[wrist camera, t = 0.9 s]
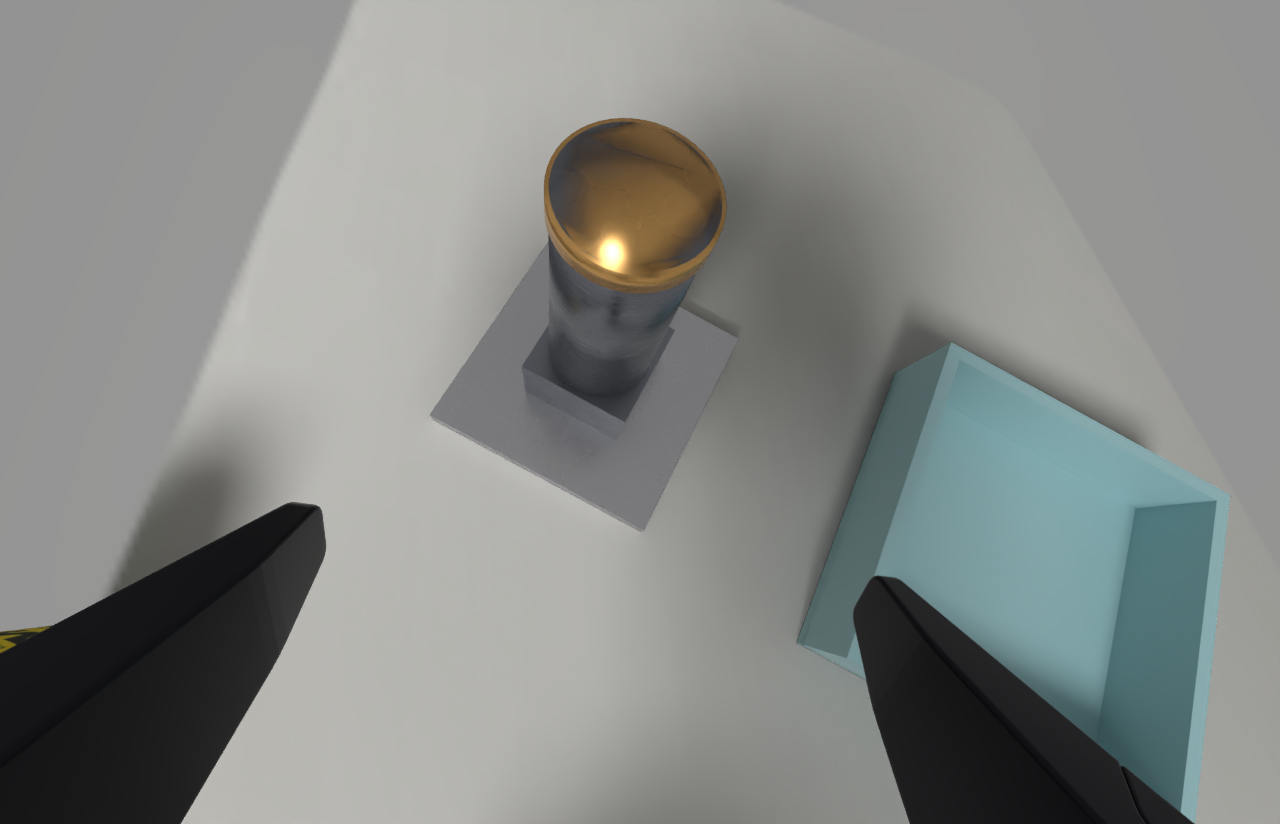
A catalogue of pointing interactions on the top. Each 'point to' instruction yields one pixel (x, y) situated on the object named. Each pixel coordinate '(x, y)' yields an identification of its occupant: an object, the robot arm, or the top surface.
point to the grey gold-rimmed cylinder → (619, 262)
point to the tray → (1041, 557)
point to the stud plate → (565, 447)
